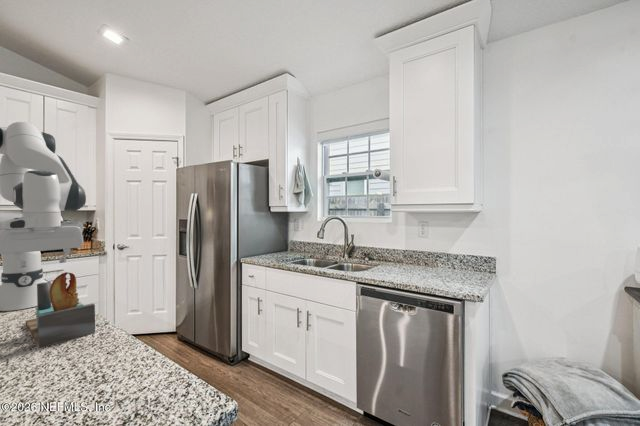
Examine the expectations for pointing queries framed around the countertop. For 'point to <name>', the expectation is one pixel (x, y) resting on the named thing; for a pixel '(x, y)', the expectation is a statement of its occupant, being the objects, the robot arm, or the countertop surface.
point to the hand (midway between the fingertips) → (43, 264)
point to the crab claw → (63, 292)
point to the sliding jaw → (45, 299)
